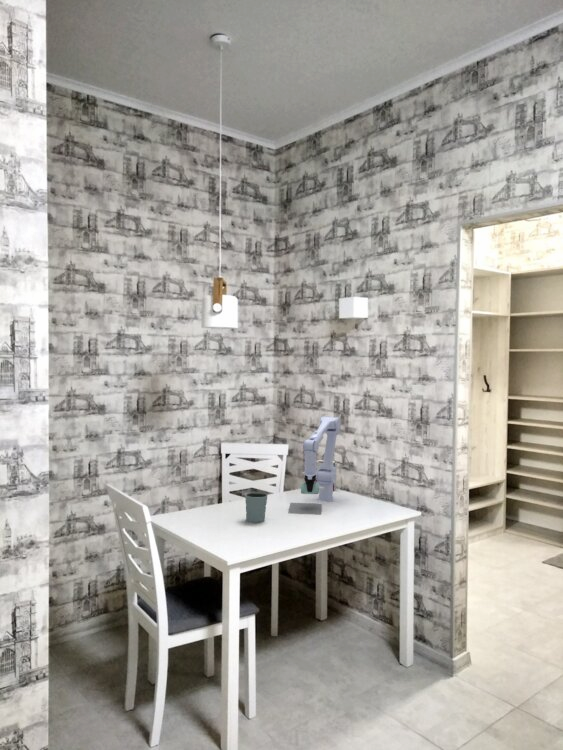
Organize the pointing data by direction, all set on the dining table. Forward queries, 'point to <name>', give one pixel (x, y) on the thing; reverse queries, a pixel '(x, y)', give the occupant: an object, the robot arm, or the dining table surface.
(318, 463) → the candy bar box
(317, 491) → the teal plug
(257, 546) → the dining table surface
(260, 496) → the teal cup
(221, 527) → the dining table surface
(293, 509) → the charcoal mat
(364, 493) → the dining table surface
